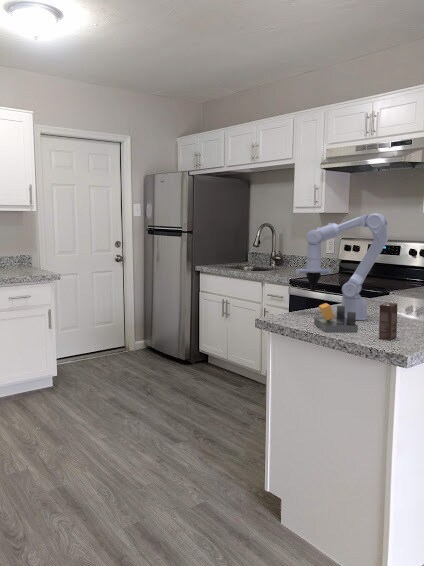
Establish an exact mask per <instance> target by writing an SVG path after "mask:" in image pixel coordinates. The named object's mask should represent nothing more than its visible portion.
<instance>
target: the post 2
mask: <svg viewBox="0 0 424 566" xmlns="http://www.w3.org/2000/svg"><path fill="white" fill-rule="evenodd" d="M356 321H357V320H356V313H355V312H347V325H351V326H354V325H355V324H356Z"/></svg>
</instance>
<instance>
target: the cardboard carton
mask: <svg viewBox="0 0 424 566" xmlns="http://www.w3.org/2000/svg"><path fill="white" fill-rule="evenodd" d="M318 309H319V310H320V313H321V315H322V316H321V317H323V318H324V319H326V320H329V321H330V322H333V320H332V318H334V317H335V314H334V312H333V309H332V307H331V305H330V304H328V303H327V302H325V303H322V304H320V305H318Z"/></svg>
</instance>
